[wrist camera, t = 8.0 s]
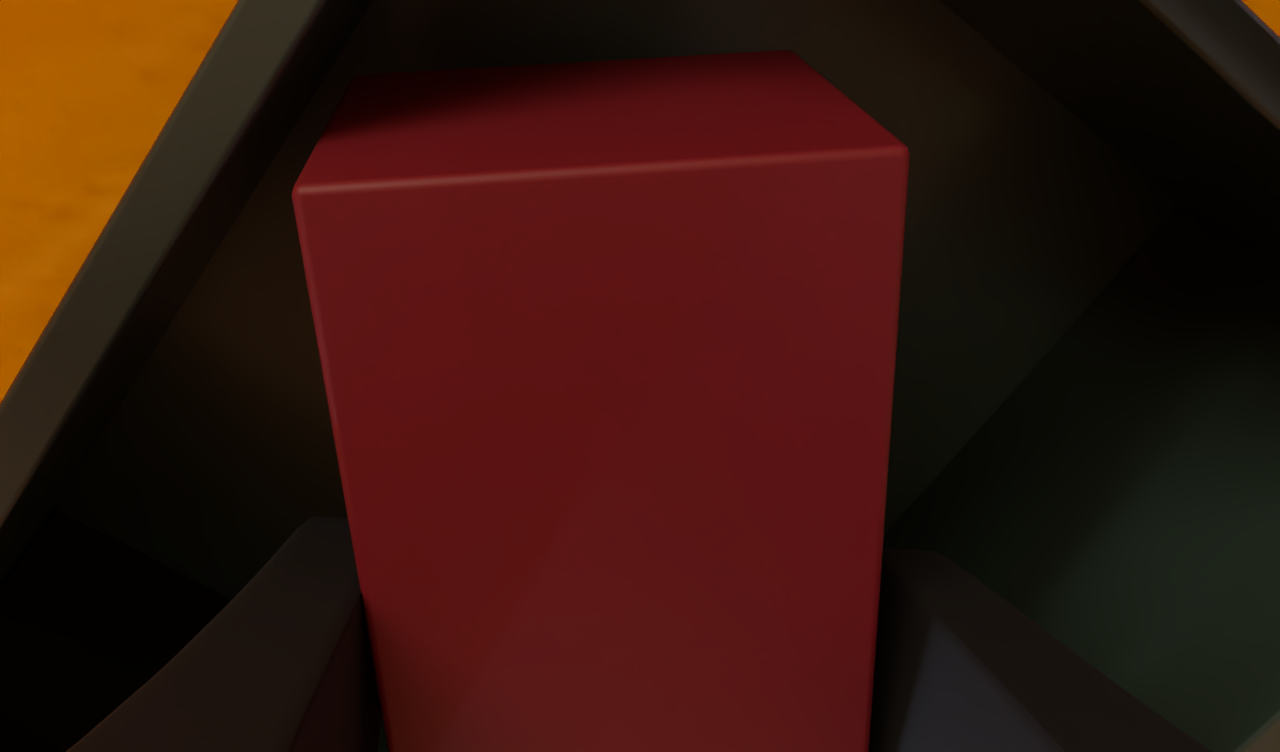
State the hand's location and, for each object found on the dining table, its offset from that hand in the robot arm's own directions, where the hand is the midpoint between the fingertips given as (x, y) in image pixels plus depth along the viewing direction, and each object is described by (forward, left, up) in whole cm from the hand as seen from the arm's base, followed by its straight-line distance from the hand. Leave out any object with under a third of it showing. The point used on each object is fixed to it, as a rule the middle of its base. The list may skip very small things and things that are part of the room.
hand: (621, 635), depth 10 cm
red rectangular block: (0, 0, -2) cm, 2 cm away
